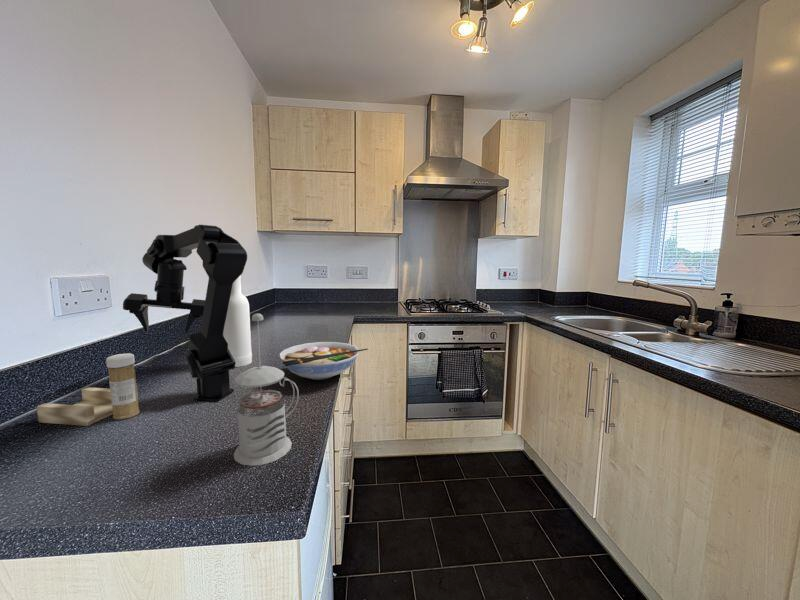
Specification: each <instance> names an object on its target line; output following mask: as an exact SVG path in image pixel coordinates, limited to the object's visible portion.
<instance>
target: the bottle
mask: <svg viewBox="0 0 800 600" xmlns="http://www.w3.org/2000/svg"><path fill="white" fill-rule="evenodd" d="M241 278H242V274H241V275H240V276H239V277H238V278H237V279H236V280H235V281H234V282H233V285H232V290H231V296H230V301H229V306H228V311H227V316H226V321H225V326H224V332H223V336H224V338H225V340H226V341H227V343H228V349H229V351H230V353H231V354H232V356H233V358H234V360H235V362H236V363H235V368H240V367H241V368H242V367H246V366H249V365H250V364H251V363H252V362H253V352H252V335H251V334H252V333H251V318H250V317H251V313H250V303H249V300H248V298H247V297H246V296H245V295H244V294H243V293H242V279H241Z"/></svg>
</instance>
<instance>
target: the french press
mask: <svg viewBox="0 0 800 600" xmlns="http://www.w3.org/2000/svg"><path fill="white" fill-rule="evenodd" d="M263 320H264V316H263V314H261V313H254V314H252V316H251V321H252V322H257V323H256V324H257V343H258V360H259V361H258V364H259V366H254V367H251V368H249V369H246V370H245V371H243V372H241V373H240V374H238V375H237V376H236V377H235V378H234V381H235V384H236V385H237V386H239V387H242V388H250V389H251V388H260V390H256V391H253V392H250V393H247V394H245V395H244V396H241V398H240V399H239V401H238V403H239V406H238V408H237V425H238V440H239V442H238V443H239V445H238V446H237V448H236V449H235V451H234V453H233V459H234V461H235V462H237V463H238V464H240V465H244V466H251V467H253V466H261V465H266V464H269V463H273V462H275V461H277V460H279V459H281V458H282V457H284V456H286V455H287V454H288V452H290V450H291V449H292V444H293V442H292V441H291V439H290V437H288V436H287V421H286V419H287V418H288V417H289V416H290V415H291V414H292V413H293V412H294V411H295V409H296V408H297V405H298V402H299V397H300V395H299V394H300V393H299V387H298V386H297V384H296V383H295V381H293V380H291V379H289V378H288V377H286V376H285V372H284V371H283V370H282V369H279V368H277V367H275V366H269V365H268V366H267V365H261V364H262V363H261V346H260V345H261V344H260V322H261V321H263ZM282 380H283V381H282ZM281 381H282V382H281ZM286 381H288V382H289V383H290V385H291V387H292V390H293V391H292V393H293V394H292V400H291V402H290V405H288V407H287V408H286V405H285V401H284V400H283V401H282V398H283V394H282V392H281V391H277V390H275V389H273V390H272V389H268V390H266V389H264V390H263V389H262V388H263V387H267V386H272V385H274V384H277V383H279V385H280V387H285V382H286ZM295 389H296V390H295ZM295 391H296V392H295ZM295 393H296V395H295ZM295 396H296V402H295V406H294V407H292V410H291V411H290V412H288V413H287V415H286V412H287V411H288V410H290V408H291V406H292V405H293V403H294V398H295ZM250 409H251V410H250ZM249 410H250V411H249ZM260 410H261V411H262V410H265V411H269V412H271V413H269V412H259V411H260ZM248 411H249V412H248ZM247 412H248V413H247ZM256 412H258V413H256ZM246 413H247V414H246ZM253 413H255V414H253ZM245 414H246V415H245ZM267 424H268V425H267ZM250 430H251V431H250Z"/></svg>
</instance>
